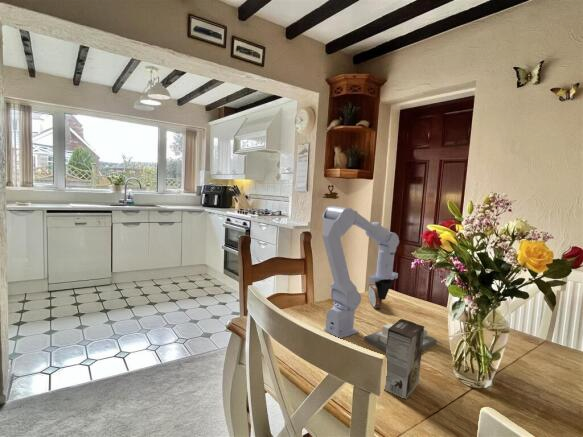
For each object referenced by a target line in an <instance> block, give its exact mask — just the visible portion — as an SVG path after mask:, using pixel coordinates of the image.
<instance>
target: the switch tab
mask: <svg viewBox="0 0 583 437" xmlns="http://www.w3.org/2000/svg"><path fill="white" fill-rule="evenodd" d="M392 325H394V324H392V323H388V324H385V325H383V326H382V330H381V331H382V334H381V335H380V341H381V342H383V343H385V344H387V337H388V329H389V328H390V327H391V326H392Z"/></svg>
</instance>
